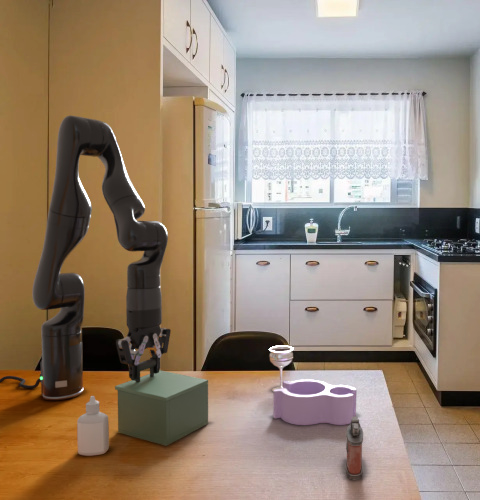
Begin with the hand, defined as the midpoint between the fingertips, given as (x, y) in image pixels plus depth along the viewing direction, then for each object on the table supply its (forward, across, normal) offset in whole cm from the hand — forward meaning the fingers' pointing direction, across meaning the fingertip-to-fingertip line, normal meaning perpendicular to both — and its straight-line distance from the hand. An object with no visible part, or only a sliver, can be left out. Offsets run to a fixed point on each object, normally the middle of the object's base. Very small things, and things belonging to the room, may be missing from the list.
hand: (145, 376), depth 116 cm
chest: (+12, 0, +6) cm, 13 cm away
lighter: (+12, -3, +54) cm, 55 cm away
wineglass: (+12, -33, +16) cm, 38 cm away
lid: (+2, 0, +6) cm, 6 cm away
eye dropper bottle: (+12, +15, +2) cm, 19 cm away
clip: (+12, -22, +34) cm, 42 cm away
